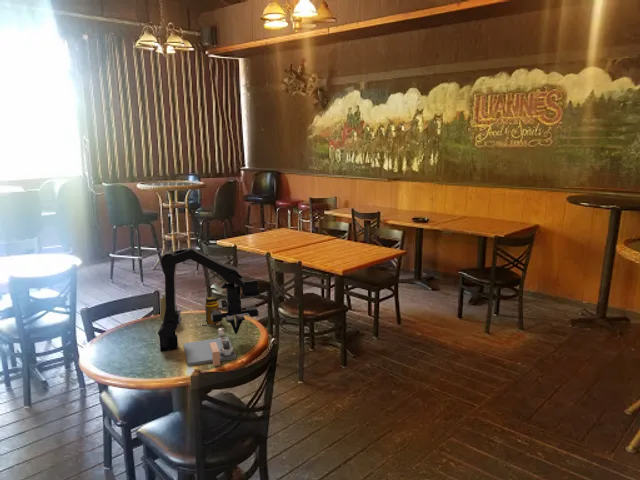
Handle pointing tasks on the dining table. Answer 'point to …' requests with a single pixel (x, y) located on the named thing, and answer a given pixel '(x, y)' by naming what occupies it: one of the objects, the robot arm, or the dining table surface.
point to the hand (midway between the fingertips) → (236, 333)
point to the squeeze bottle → (163, 306)
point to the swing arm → (224, 343)
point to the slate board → (203, 352)
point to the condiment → (211, 309)
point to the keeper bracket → (215, 353)
